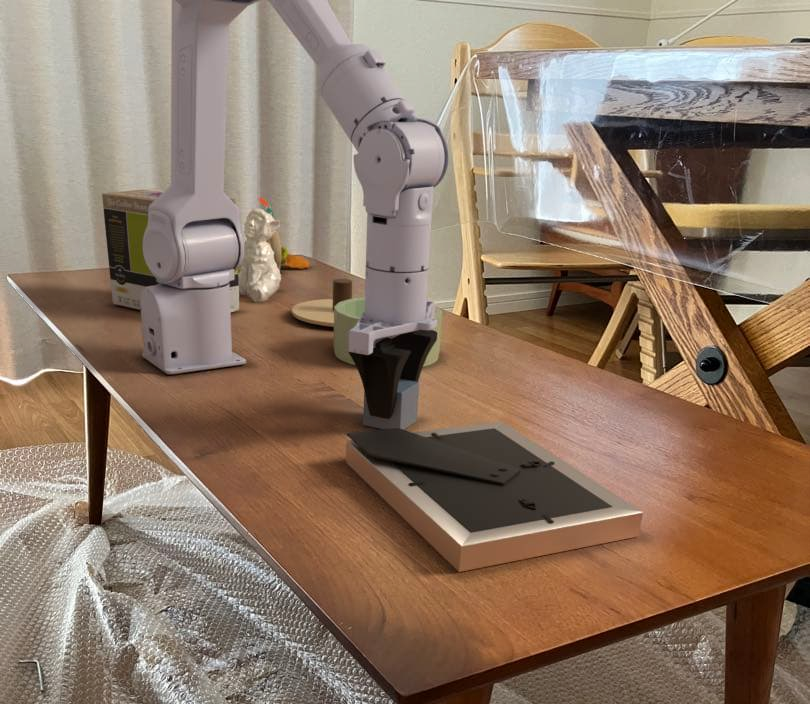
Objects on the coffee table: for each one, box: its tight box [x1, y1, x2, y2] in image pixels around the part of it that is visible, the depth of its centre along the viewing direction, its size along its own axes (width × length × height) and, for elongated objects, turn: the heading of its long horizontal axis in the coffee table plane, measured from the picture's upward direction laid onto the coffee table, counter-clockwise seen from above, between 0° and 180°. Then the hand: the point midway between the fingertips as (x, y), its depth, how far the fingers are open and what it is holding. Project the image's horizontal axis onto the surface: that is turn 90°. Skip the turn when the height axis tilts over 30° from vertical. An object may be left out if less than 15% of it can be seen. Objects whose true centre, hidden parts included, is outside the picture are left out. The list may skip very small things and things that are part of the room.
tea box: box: [101, 188, 240, 313], centre depth 122 cm, size 15×10×15 cm
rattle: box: [258, 196, 310, 271], centre depth 149 cm, size 8×8×12 cm
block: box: [362, 379, 420, 430], centre depth 89 cm, size 4×4×4 cm
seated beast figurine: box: [238, 207, 282, 303], centre depth 133 cm, size 10×9×12 cm
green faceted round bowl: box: [333, 296, 443, 368], centre depth 109 cm, size 13×13×6 cm
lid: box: [291, 278, 353, 328], centre depth 124 cm, size 14×14×5 cm
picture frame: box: [345, 420, 644, 573], centre depth 74 cm, size 16×3×21 cm
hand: (390, 409), depth 89 cm, fingers closed on block, 4 cm apart
